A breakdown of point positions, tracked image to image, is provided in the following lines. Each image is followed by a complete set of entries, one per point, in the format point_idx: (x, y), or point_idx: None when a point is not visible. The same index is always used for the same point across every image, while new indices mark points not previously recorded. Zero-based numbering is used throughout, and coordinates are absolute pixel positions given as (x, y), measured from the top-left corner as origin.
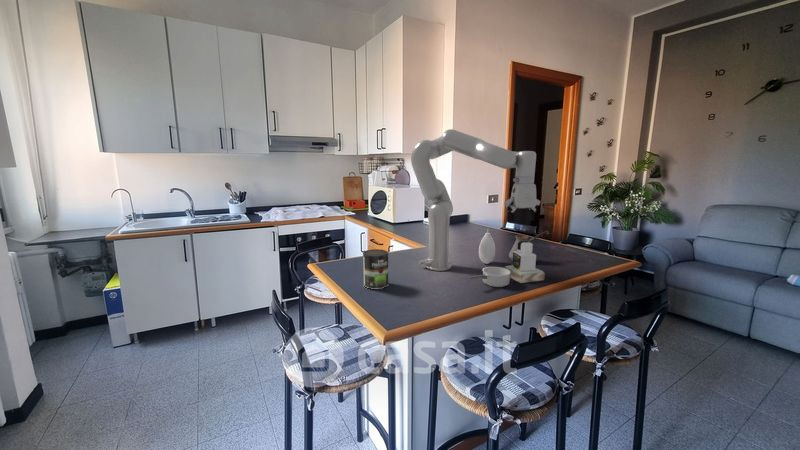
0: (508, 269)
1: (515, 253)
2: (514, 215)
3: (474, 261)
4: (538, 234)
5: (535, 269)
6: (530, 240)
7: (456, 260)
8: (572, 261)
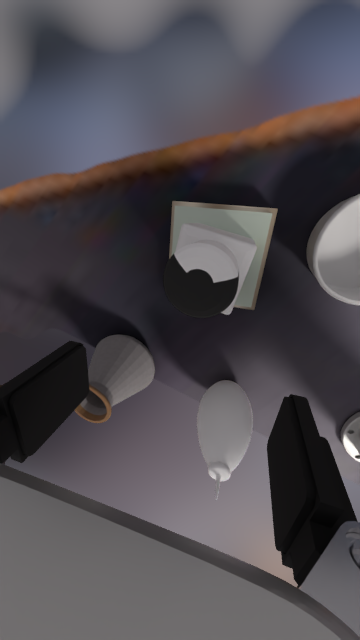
0: (259, 285)
1: (238, 293)
2: (312, 456)
3: None
4: None
5: None
6: None
7: None
8: (11, 292)
